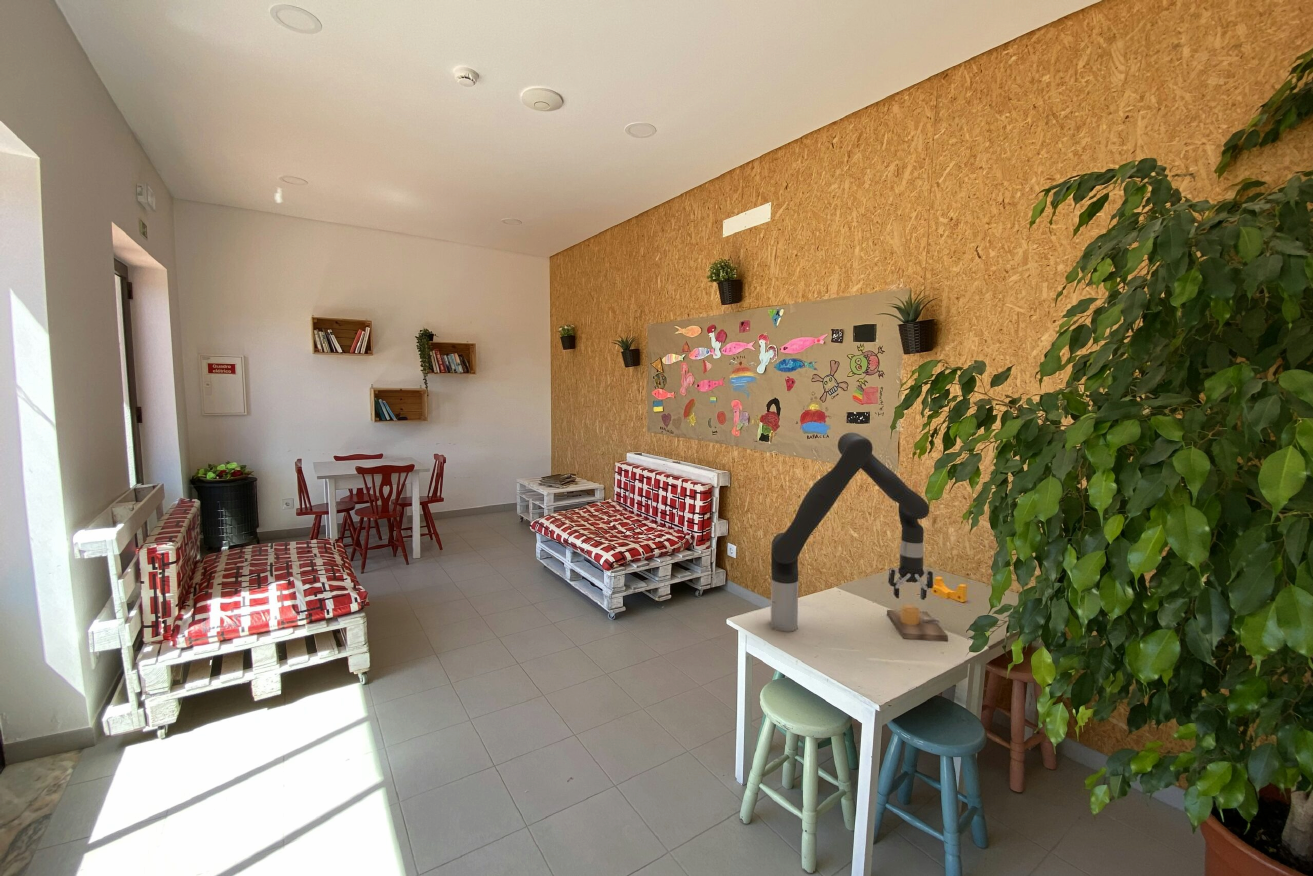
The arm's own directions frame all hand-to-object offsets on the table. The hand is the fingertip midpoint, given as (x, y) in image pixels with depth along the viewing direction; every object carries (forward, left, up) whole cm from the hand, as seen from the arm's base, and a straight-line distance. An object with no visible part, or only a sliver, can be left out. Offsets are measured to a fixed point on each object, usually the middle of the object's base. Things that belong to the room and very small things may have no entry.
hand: (909, 598), depth 189 cm
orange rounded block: (0, 0, -8) cm, 8 cm away
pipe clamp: (+25, +32, -11) cm, 42 cm away
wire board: (+2, 0, -10) cm, 11 cm away
